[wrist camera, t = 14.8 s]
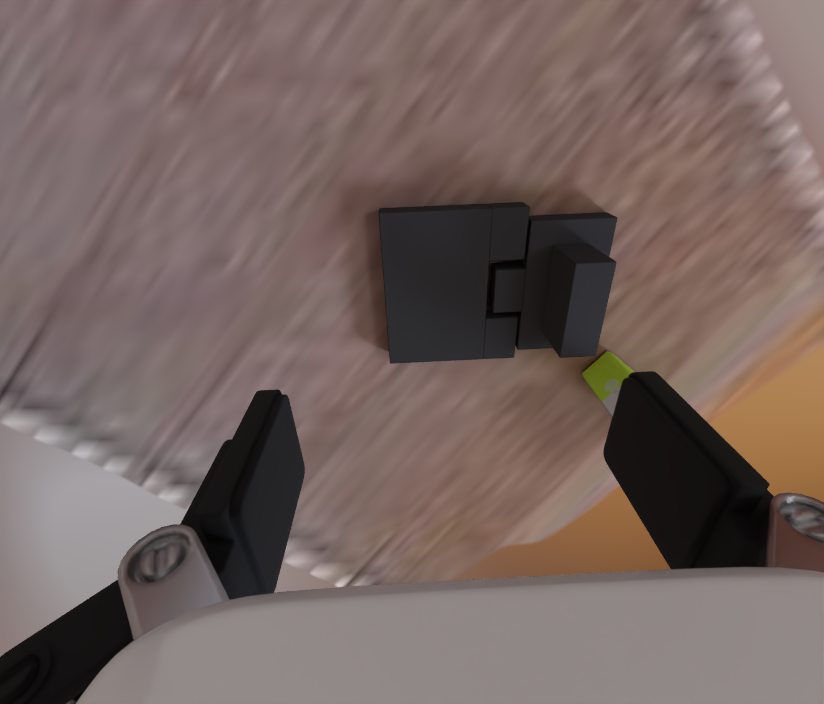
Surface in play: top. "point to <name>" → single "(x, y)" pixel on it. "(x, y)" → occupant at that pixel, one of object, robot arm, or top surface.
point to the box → (607, 379)
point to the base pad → (448, 279)
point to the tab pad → (535, 266)
